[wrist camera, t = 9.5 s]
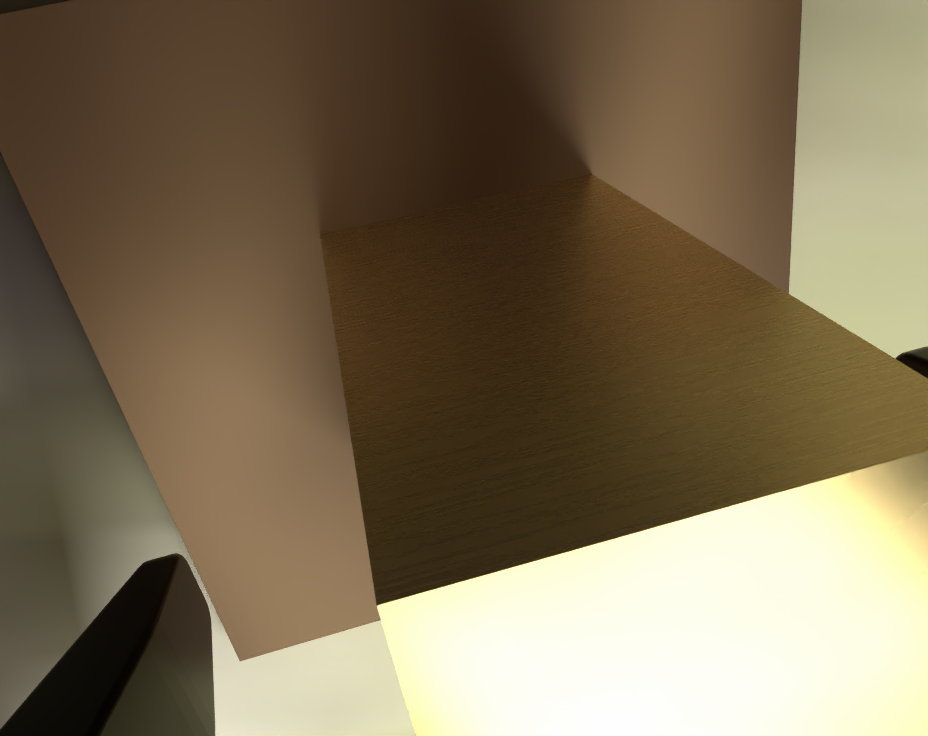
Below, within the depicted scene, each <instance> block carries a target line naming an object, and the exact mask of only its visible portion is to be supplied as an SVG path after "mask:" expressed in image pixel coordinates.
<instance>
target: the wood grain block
mask: <svg viewBox="0 0 928 736" xmlns="http://www.w3.org/2000/svg"><path fill="white" fill-rule="evenodd" d="M320 240H321V246H322V253H323V259H324V266H325V272H326V279H327V285H328V292H329V299H330V305H331V312H332V318H333V325H334V331H335V338H336V344H337V351H338V357H339V364H340V370H341V377H342V383H343V390H344V396H345V403H346V409H347V416H348V422H349V429H350V435H351V442H352V448H353V455H354V461H355V468H356V474H357V481H358V487H359V494H360V501H361V507H362V514H363V520H364V527H365V533H366V540H367V546H368V553H369V559H370V566H371V572H372V579H373V585H374V592H375V598H376V605H377V609H378V612H379V615H380V619H381V622H382V625H383V629H384V632H385V635H386V638H387V642H388V645H389V648H390V652H391V655H392V658H393V662H394V665H395V668H396V672H397V675H398V678H399V682H400V685H401V688H402V692H403V695H404V698H405V702H406V705H407V708H408V712H409V715H410V718H411V722H412V725H413V728H414V732H415V735H416V736H928V378H926V377H924V376H923V375H921V374H919V373H918V372H916V371H914V370H913V369H911V368H909V367H908V366H906V365H905V364H903V363H901V362H900V361H898V360H896V359H895V358H893V357H891V356H890V355H888V354H887V353H885V352H883V351H882V350H880V349H878V348H877V347H875V346H873V345H872V344H870V343H868V342H867V341H865V340H864V339H862V338H860V337H859V336H857V335H855V334H854V333H852V332H850V331H849V330H847V329H846V328H844V327H842V326H841V325H839V324H837V323H836V322H834V321H832V320H831V319H829V318H827V317H826V316H824V315H823V314H821V313H819V312H818V311H816V310H814V309H813V308H811V307H809V306H808V305H806V304H804V303H803V302H801V301H800V300H798V299H796V298H795V297H793V296H791V295H790V294H788V293H786V292H785V291H783V290H782V289H780V288H778V287H777V286H775V285H773V284H772V283H770V282H768V281H767V280H765V279H763V278H762V277H760V276H759V275H757V274H755V273H754V272H752V271H750V270H749V269H747V268H745V267H744V266H742V265H740V264H739V263H737V262H736V261H734V260H732V259H731V258H729V257H727V256H726V255H724V254H722V253H721V252H719V251H718V250H716V249H714V248H713V247H711V246H709V245H708V244H706V243H704V242H703V241H701V240H699V239H698V238H696V237H695V236H693V235H691V234H690V233H688V232H686V231H685V230H683V229H681V228H680V227H678V226H676V225H675V224H673V223H672V222H670V221H668V220H667V219H665V218H663V217H662V216H660V215H658V214H657V213H655V212H654V211H652V210H650V209H649V208H647V207H645V206H644V205H642V204H640V203H639V202H637V201H635V200H634V199H632V198H631V197H629V196H627V195H626V194H624V193H622V192H621V191H619V190H617V189H616V188H614V187H613V186H611V185H609V184H608V183H606V182H604V181H603V180H601V179H599V178H598V177H596V176H594V175H593V174H591V175H586V176H581V177H577V178H572V179H568V180H563V181H559V182H554V183H550V184H545V185H541V186H536V187H532V188H527V189H523V190H518V191H514V192H509V193H505V194H500V195H496V196H491V197H486V198H482V199H477V200H473V201H468V202H464V203H459V204H455V205H450V206H446V207H441V208H437V209H432V210H428V211H423V212H419V213H414V214H410V215H405V216H401V217H396V218H391V219H387V220H382V221H378V222H373V223H369V224H364V225H360V226H355V227H351V228H346V229H342V230H337V231H333V232H328V233H324V234H320Z"/></svg>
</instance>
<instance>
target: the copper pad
mask: <svg viewBox="0 0 928 736" xmlns="http://www.w3.org/2000/svg"><path fill="white" fill-rule="evenodd" d="M801 12H802V0H71V1H66V2H61V3H55V4H50V5H45V6H40V7H35V8H30V9H24V10H19V11H14V12H9V13H4V14H0V152H1V154H2V156H3V158H4V161H5V163H6V165H7V167H8V169H9V171H10V173H11V175H12V178H13V180H14V182H15V184H16V186H17V188H18V190H19V192H20V195H21V197H22V199H23V201H24V203H25V205H26V207H27V210H28V212H29V214H30V216H31V218H32V220H33V222H34V224H35V227H36V229H37V231H38V233H39V235H40V237H41V239H42V241H43V244H44V246H45V248H46V250H47V252H48V254H49V256H50V258H51V261H52V263H53V265H54V267H55V269H56V271H57V273H58V275H59V278H60V280H61V282H62V284H63V286H64V288H65V290H66V292H67V295H68V297H69V299H70V301H71V303H72V305H73V307H74V309H75V312H76V314H77V316H78V318H79V320H80V322H81V324H82V326H83V329H84V331H85V333H86V335H87V337H88V339H89V341H90V343H91V346H92V348H93V350H94V352H95V354H96V356H97V358H98V360H99V363H100V365H101V367H102V369H103V371H104V373H105V375H106V377H107V380H108V382H109V384H110V386H111V388H112V390H113V392H114V394H115V397H116V399H117V401H118V403H119V405H120V407H121V409H122V412H123V414H124V416H125V418H126V420H127V422H128V424H129V426H130V429H131V431H132V433H133V435H134V437H135V439H136V441H137V443H138V446H139V448H140V450H141V452H142V454H143V456H144V458H145V460H146V463H147V465H148V467H149V469H150V471H151V473H152V475H153V477H154V480H155V482H156V484H157V486H158V488H159V490H160V492H161V494H162V497H163V499H164V501H165V503H166V505H167V507H168V509H169V511H170V514H171V516H172V518H173V520H174V522H175V524H176V526H177V528H178V531H179V533H180V535H181V537H182V539H183V541H184V543H185V545H186V548H187V550H188V552H189V554H190V556H191V558H192V560H193V562H194V565H195V567H196V569H197V571H198V573H199V575H200V577H201V579H202V582H203V584H204V586H205V588H206V590H207V592H208V594H209V596H210V599H211V601H212V603H213V605H214V607H215V609H216V611H217V614H218V616H219V618H220V620H221V622H222V624H223V626H224V628H225V631H226V633H227V635H228V637H229V639H230V641H231V643H232V645H233V648H234V650H235V652H236V654H237V656H238V658H239V660H240V661H242V660H246V659H249V658H253V657H256V656H260V655H263V654H266V653H270V652H273V651H277V650H280V649H283V648H287V647H290V646H294V645H297V644H300V643H304V642H307V641H311V640H314V639H317V638H321V637H324V636H328V635H331V634H334V633H338V632H341V631H345V630H348V629H351V628H355V627H358V626H362V625H365V624H368V623H372V622H375V621H379V620H381V619H380V615H379V612H378V609H377V605H376V598H375V592H374V585H373V579H372V572H371V566H370V559H369V553H368V546H367V540H366V533H365V527H364V520H363V514H362V507H361V501H360V494H359V487H358V481H357V474H356V468H355V461H354V455H353V448H352V442H351V435H350V429H349V422H348V416H347V409H346V403H345V396H344V390H343V383H342V377H341V370H340V364H339V357H338V351H337V344H336V338H335V331H334V325H333V318H332V312H331V305H330V299H329V292H328V285H327V279H326V272H325V266H324V259H323V253H322V246H321V240H320V234H324V233H328V232H333V231H337V230H342V229H346V228H351V227H355V226H360V225H364V224H369V223H373V222H378V221H382V220H387V219H391V218H396V217H401V216H405V215H410V214H414V213H419V212H423V211H428V210H432V209H437V208H441V207H446V206H450V205H455V204H459V203H464V202H468V201H473V200H477V199H482V198H486V197H491V196H496V195H500V194H505V193H509V192H514V191H518V190H523V189H527V188H532V187H536V186H541V185H545V184H550V183H554V182H559V181H563V180H568V179H572V178H577V177H581V176H586V175H591V174H593V175H594V176H596V177H598V178H599V179H601V180H603V181H604V182H606V183H608V184H609V185H611V186H613V187H614V188H616V189H617V190H619V191H621V192H622V193H624V194H626V195H627V196H629V197H631V198H632V199H634V200H635V201H637V202H639V203H640V204H642V205H644V206H645V207H647V208H649V209H650V210H652V211H654V212H655V213H657V214H658V215H660V216H662V217H663V218H665V219H667V220H668V221H670V222H672V223H673V224H675V225H676V226H678V227H680V228H681V229H683V230H685V231H686V232H688V233H690V234H691V235H693V236H695V237H696V238H698V239H699V240H701V241H703V242H704V243H706V244H708V245H709V246H711V247H713V248H714V249H716V250H718V251H719V252H721V253H722V254H724V255H726V256H727V257H729V258H731V259H732V260H734V261H736V262H737V263H739V264H740V265H742V266H744V267H745V268H747V269H749V270H750V271H752V272H754V273H755V274H757V275H759V276H760V277H762V278H763V279H765V280H767V281H768V282H770V283H772V284H773V285H775V286H777V287H778V288H780V289H782V290H783V291H785V292H786V293H788V294H789V275H790V253H791V231H792V209H793V187H794V165H795V143H796V121H797V99H798V78H799V56H800V34H801Z"/></svg>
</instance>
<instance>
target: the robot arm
mask: <svg viewBox="0 0 928 736" xmlns="http://www.w3.org/2000/svg"><path fill="white" fill-rule="evenodd" d="M896 360H898V361H900V362H901V363H903V364H905V365H906V366H908V367H909V368H911V369H913V370H914V371H916V372H918V373H919V374H921V375H923V376H924V377H926V378H928V347H923V348H919V349H915V350H912V351H908V352H904V353H902V354H900V355H899V356H897V357H896ZM0 736H215V711H214V683H213V656H212V629H211V617H210V612H209V608H208V605H207V602H206V600H205V598H204V596H203V594H202V592H201V589H200V587H199V585H198V583H197V581H196V579H195V577H194V575H193V573H192V571H191V568H190V566H189V564H188V562H187V561H186V559H185V558H184V557H183V556H182V555H180V554H177V553H175V554H171V555H167V556H164V557H160V558H156V559H153V560H149V561H146V562H144V563H143V564H142V565H141V566H140V567H139V568H138V569H137V570H136V571H135V572H134V574H133V575H132V576H131V577H130V578H129V579H128V581H127V582H126V583H125V584H124V585H123V586H122V588H121V589H120V590H119V591H118V592H117V594H116V595H115V596H114V597H113V598H112V599H111V601H110V602H109V603H108V604H107V605H106V606H105V608H104V609H103V610H102V611H101V612H100V613H99V615H98V616H97V617H96V618H95V619H94V620H93V622H92V623H91V624H90V625H89V626H88V627H87V629H86V630H85V631H84V632H83V633H82V634H81V636H80V637H79V638H78V639H77V640H76V641H75V643H74V644H73V645H72V646H71V647H70V648H69V650H68V651H67V652H66V653H65V654H64V655H63V657H62V658H61V659H60V660H59V661H58V662H57V664H56V665H55V666H54V667H53V668H52V669H51V671H50V672H49V673H48V674H47V675H46V676H45V678H44V679H43V680H42V681H41V682H40V683H39V685H38V686H37V687H36V688H35V689H34V691H33V692H32V693H31V694H30V695H29V696H28V698H27V699H26V700H25V701H24V702H23V703H22V705H21V706H20V707H19V708H18V709H17V710H16V712H15V713H14V714H13V715H12V716H11V717H10V719H9V720H8V721H7V722H6V723H5V724H4V726H3V727H2V728H1V729H0Z"/></svg>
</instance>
